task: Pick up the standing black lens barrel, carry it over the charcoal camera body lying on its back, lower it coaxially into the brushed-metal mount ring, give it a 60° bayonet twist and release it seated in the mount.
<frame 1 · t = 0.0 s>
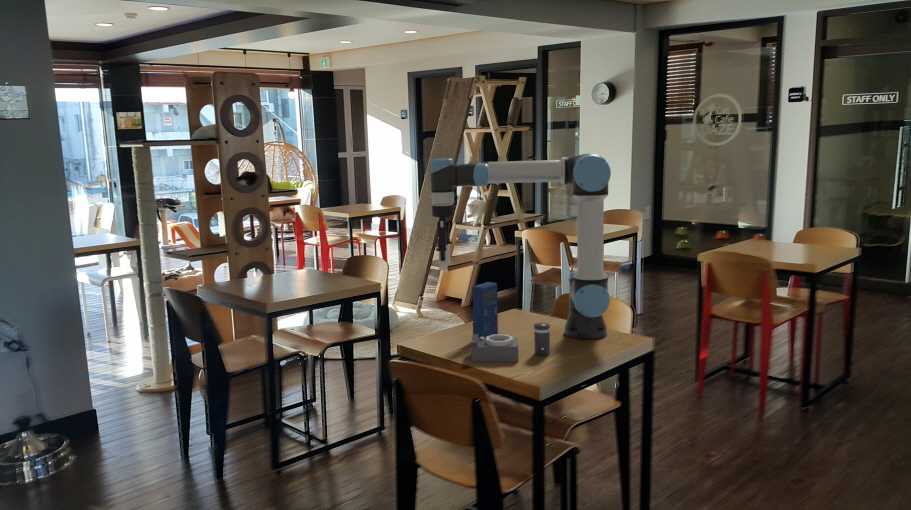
hand: (444, 266, 242), 28 cm above the table, fingers open, 13 cm apart
electronic device: (485, 340, 253), on the table
camera body: (495, 357, 232), on the table
lens: (542, 354, 234), on the table
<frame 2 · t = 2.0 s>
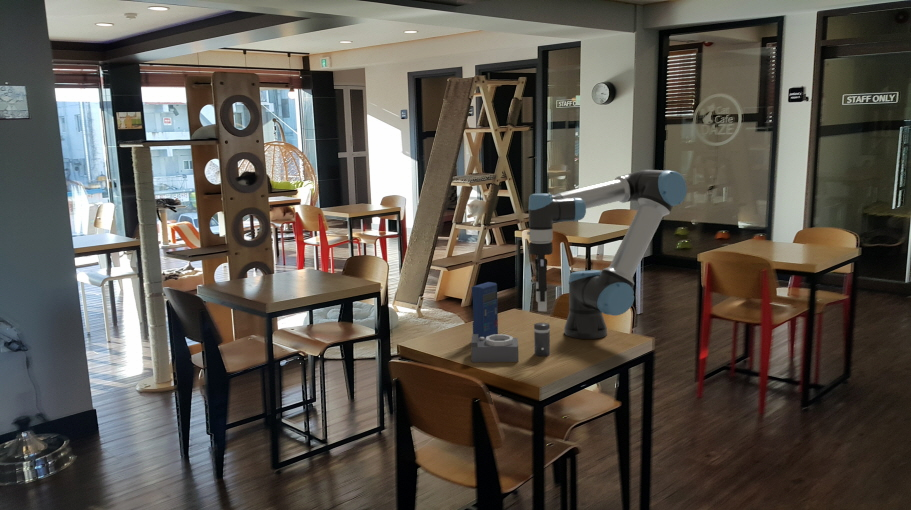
hand: (541, 306, 231), 16 cm above the table, fingers open, 13 cm apart
nothing on the table moved.
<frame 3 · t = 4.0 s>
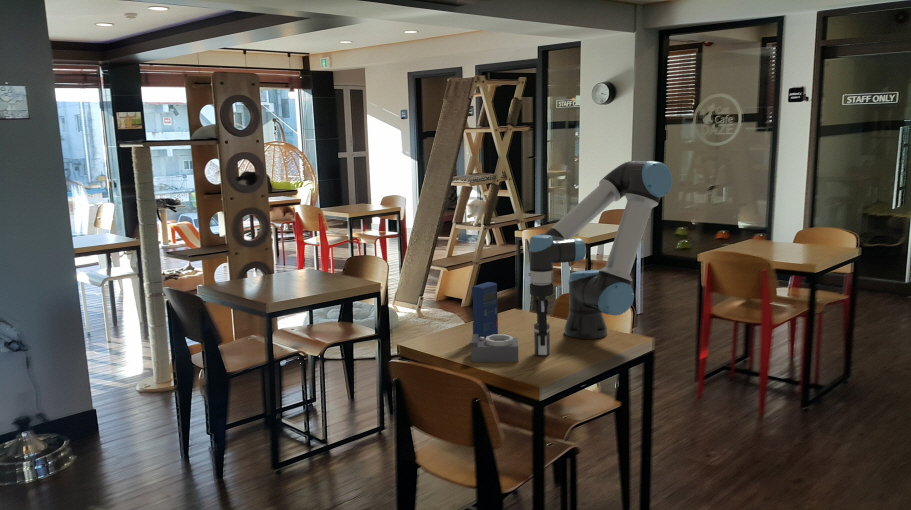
hand: (542, 351, 233), 1 cm above the table, fingers closed on lens, 5 cm apart
lens: (542, 353, 234), on the table, touching gripper
everything else where it was.
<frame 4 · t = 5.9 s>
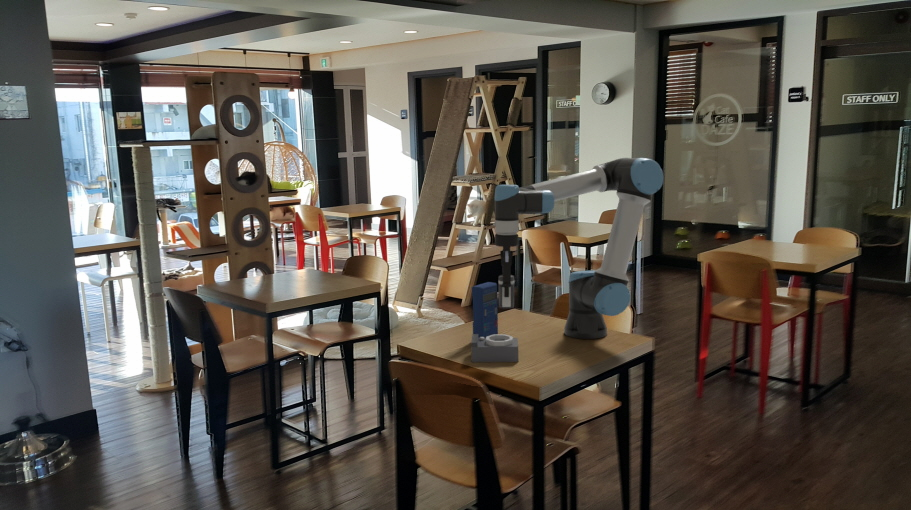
hand: (506, 304, 229), 18 cm above the table, fingers closed on lens, 5 cm apart
lens: (506, 306, 229), point 17 cm above the table, touching gripper
everything else where it was.
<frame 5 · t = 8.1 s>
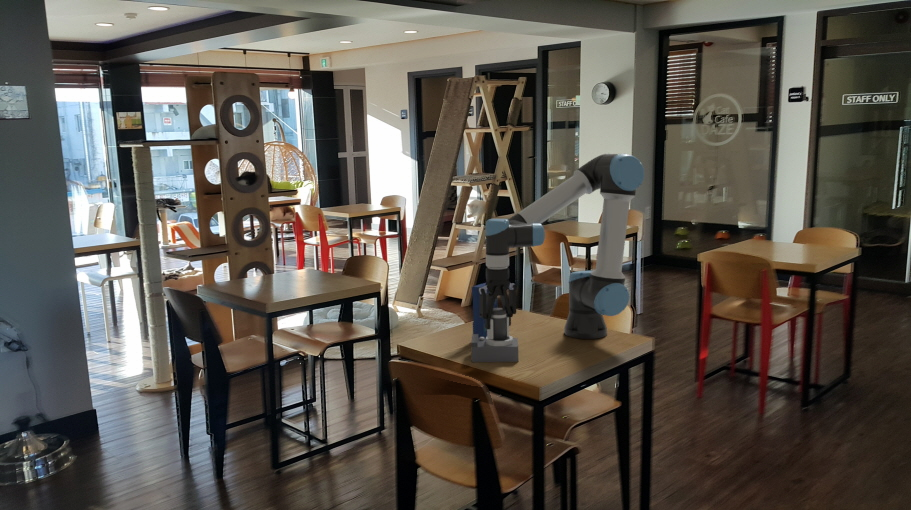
hand: (498, 336, 231), 7 cm above the table, fingers closed on lens, 5 cm apart
lens: (498, 339, 231), point 6 cm above the table, touching gripper
everything else where it was.
when the fingers open (7 cm above the table, at t = 8.2 s): lens stays where it is, resting on camera body.
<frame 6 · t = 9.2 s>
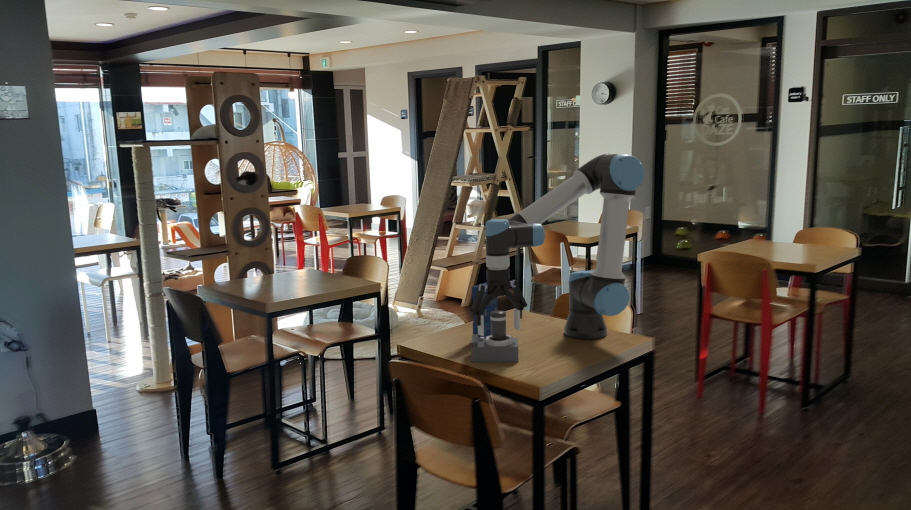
hand: (499, 331, 230), 9 cm above the table, fingers open, 13 cm apart
lens: (498, 342, 231), point 5 cm above the table, touching camera body
everything else where it was.
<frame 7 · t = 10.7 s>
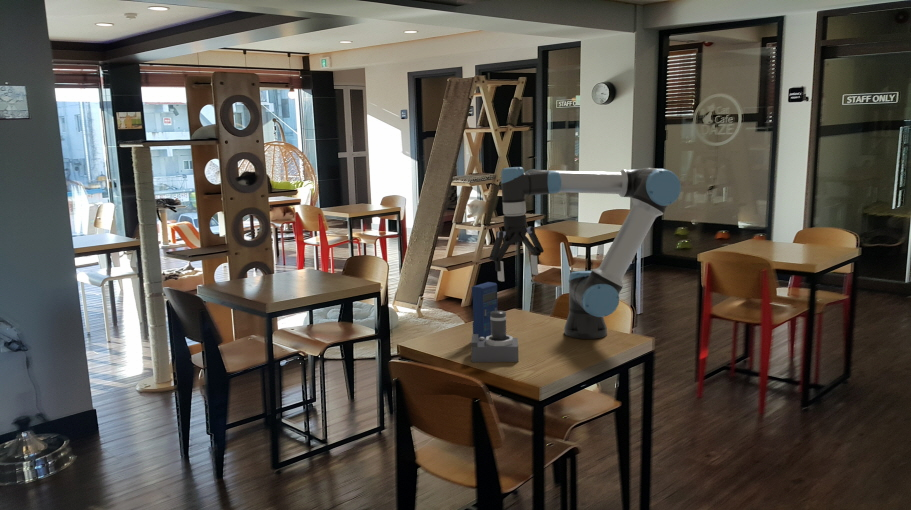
hand: (518, 277, 236), 25 cm above the table, fingers open, 13 cm apart
nothing on the table moved.
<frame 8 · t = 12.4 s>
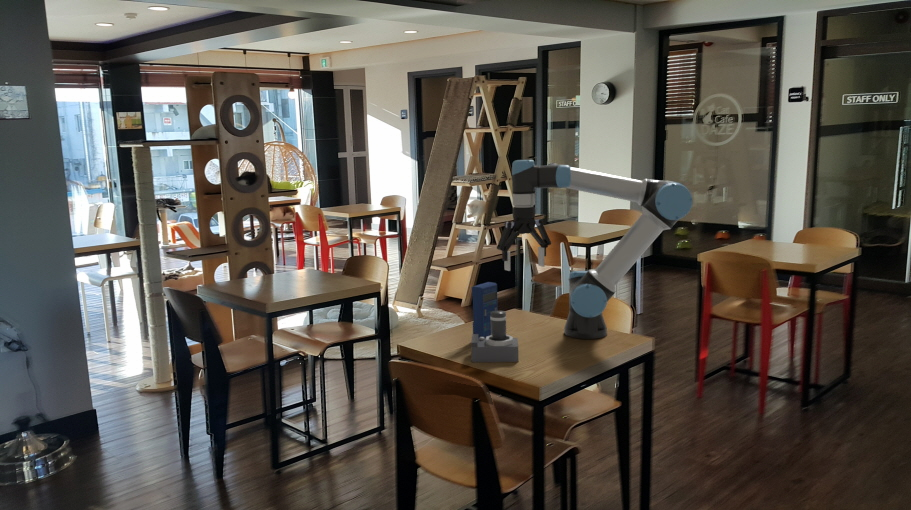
hand: (524, 268, 241), 27 cm above the table, fingers open, 13 cm apart
nothing on the table moved.
at the end: lens 0.3 cm from the target spot on the camera body, point 5.0 cm above the camera body's base; lens tilted 0°; the gripper is holding nothing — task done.
